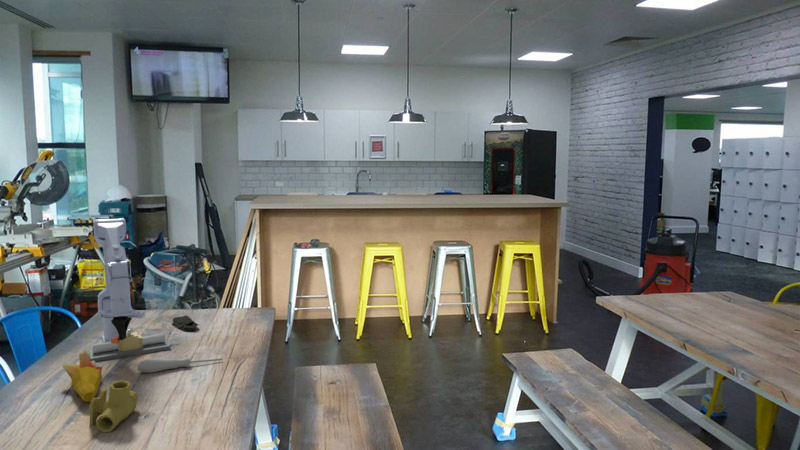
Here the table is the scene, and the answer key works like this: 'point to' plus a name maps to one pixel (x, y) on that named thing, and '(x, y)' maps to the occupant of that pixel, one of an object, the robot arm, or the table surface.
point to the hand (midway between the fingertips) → (122, 339)
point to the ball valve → (113, 406)
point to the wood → (184, 323)
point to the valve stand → (128, 347)
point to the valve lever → (116, 339)
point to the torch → (84, 376)
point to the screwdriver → (166, 364)
